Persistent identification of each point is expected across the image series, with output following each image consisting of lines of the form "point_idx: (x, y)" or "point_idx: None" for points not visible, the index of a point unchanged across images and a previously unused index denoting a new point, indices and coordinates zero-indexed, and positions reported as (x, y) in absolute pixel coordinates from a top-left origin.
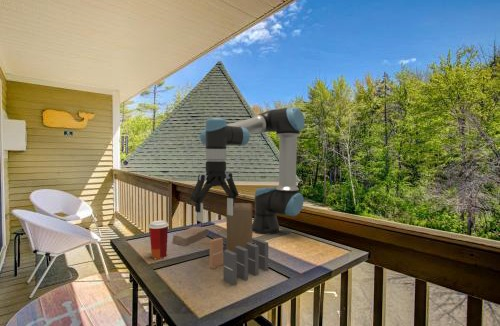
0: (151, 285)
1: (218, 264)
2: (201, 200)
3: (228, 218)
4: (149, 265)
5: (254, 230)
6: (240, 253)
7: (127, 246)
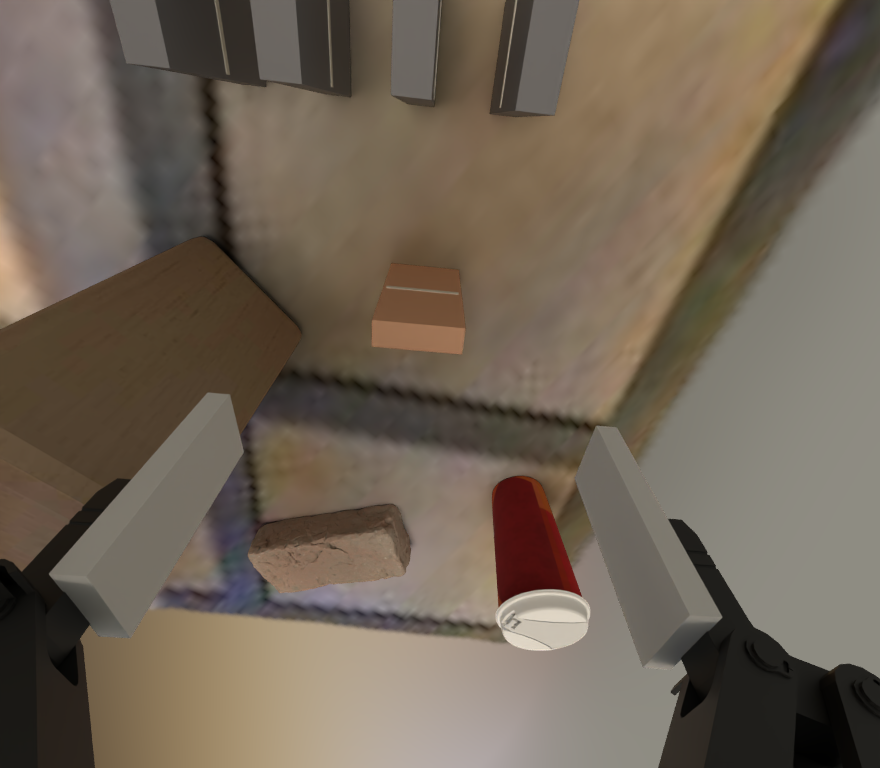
0: (709, 334)
1: (420, 268)
2: (736, 671)
3: None
4: None
5: None
6: (438, 8)
7: None
